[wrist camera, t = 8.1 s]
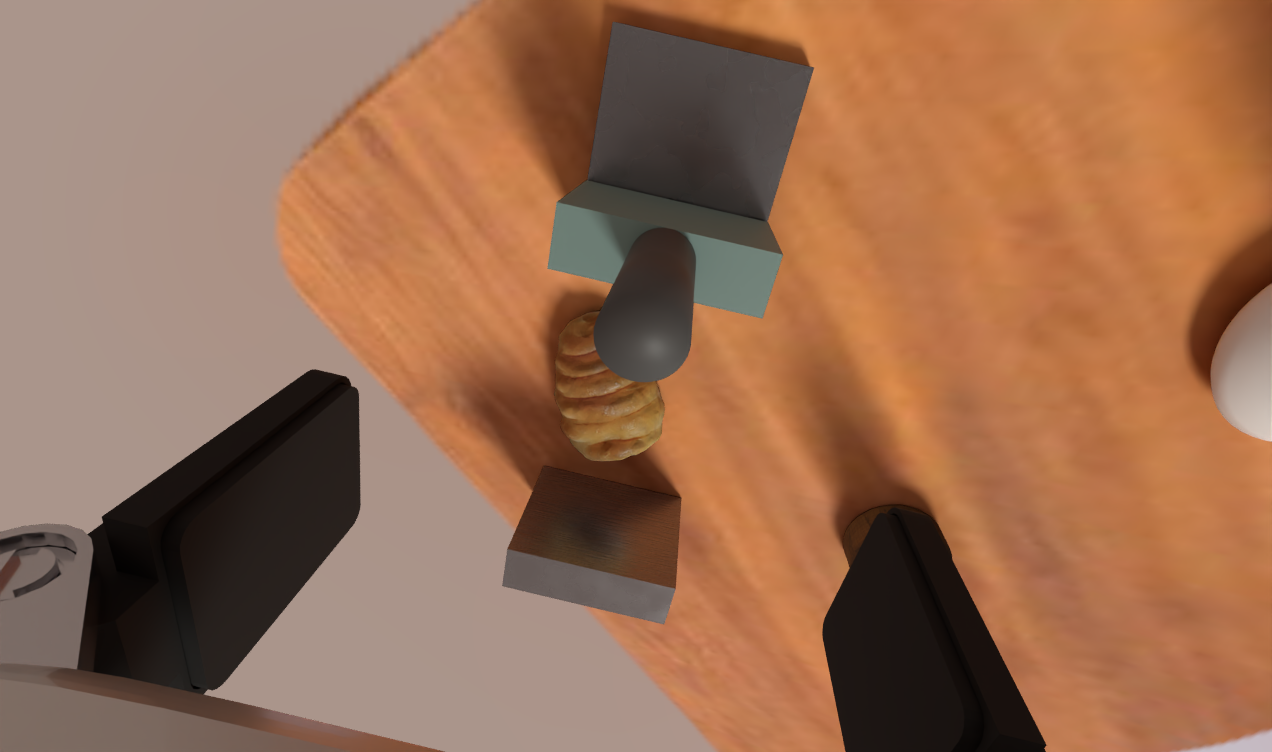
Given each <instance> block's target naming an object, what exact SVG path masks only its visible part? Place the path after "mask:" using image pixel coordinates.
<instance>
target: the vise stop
mask: <svg viewBox="0 0 1272 752" xmlns="http://www.w3.org/2000/svg"><path fill="white" fill-rule="evenodd" d="M680 511H681V498H679V497H675V496H671V495H666V494H662V493H658V492H654V491H649V490H645V489H641V488H637V487H632V486H628V485H624V484H620V483H615V482H611V481H607V480H603V479H598V478H594V477H590V476H586V475H581V474H577V473H573V472H569V471H564V470H560V469H556V468H552V467H547V466H543V469H542V471H541V473H540V476H539V478H538V480H537V482H536V485H535V487H534V489H533V492H532V494H531V496H530V499H529V501H528V503H527V505H526V508H525V510H524V512H523V515H522V517H521V519H520V521H519V524H518V526H517V528H516V531H515V533H514V535H513V538H512V540H511V542H510V544H509V547H508V549H507V556H506V563H505V571H504V578H503V585H502V586H504V587H508V588H513V589H517V590H522V591H526V592H530V593H534V594H538V595H542V596H547V597H551V598H555V599H559V600H564V601H568V602H572V603H576V604H580V605H584V606H589V607H593V608H597V609H601V610H605V611H610V612H614V613H618V614H622V615H627V616H631V617H635V618H639V619H643V620H648V621H652V622H656V623H660V624H664V623H665V620H666V617H667V614H668V611H669V608H670V605H671V601H672V598H673V595H674V592H675V589H676V574H677V559H678V543H679V527H680Z"/></svg>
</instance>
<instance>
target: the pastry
mask: <svg viewBox="0 0 1272 752" xmlns="http://www.w3.org/2000/svg"><path fill="white" fill-rule="evenodd" d="M599 313H600V311H598V312H589V313H586V314H584V315H582V316H580V317H578V318H575V319H573V320H571V321H570V322H569V323H568V324H567V326H566V327H565V329H564V330H563V331H562V332H561V333H560V335H559V344H558V354H557V356H556V359H555V368H556V376H555V384H556V388H555V392H554V396H555V400H556V403H557V405H558V407H559V408H560V411H561V413H562V420H561V423H560V427H561V429H562V431H563V433H564V434H565V435H566V436H567V437H568V438H570V442H571V444H572V445H573V446H574V447H575V448H576V449H577V450H578V451H579V452H580V453H582V454H583V455H584V457H585V458H587V459H589V460H592V461H613V460H622V459H625V458H627V457H629V456H631V455H637V454H639V453H641V452H643V451H645V450H646V449H648V448H649V447H650V446H651V445H652V444H653V443H655V442H656V441H658V440H659V438H660V436H661V434H662V420H663V417H664V411H665V407H664V402H663V400H662V397H661V394H660V391H659V388H658V386H657V383H656V381H653V382H635V381H631V380H627V379H625V378H622V377H620V376H618V375H617V374H615V373H614V372H612V371H611V370H610V369H609V368H608V367H607V366H606V365H605V364H604V363H603V362H602V360H601V359H600V357H599V355H598V353H597V351H596V348H595V344H594V334H593V333H594V326H595V322H596V319H597V317H598V315H599Z"/></svg>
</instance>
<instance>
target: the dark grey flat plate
mask: <svg viewBox="0 0 1272 752" xmlns="http://www.w3.org/2000/svg"><path fill="white" fill-rule="evenodd" d="M813 69H814V68H813V67H809V66H805V65H800V64H796V63H792V62H787V61H783V60H778V59H774V58H770V57H765V56H761V55H757V54H752V53H748V52H744V51H739V50H735V49H731V48H726V47H722V46H717V45H713V44H709V43H704V42H700V41H696V40H691V39H687V38H683V37H678V36H674V35H669V34H665V33H661V32H656V31H652V30H648V29H643V28H639V27H635V26H630V25H626V24H622V23H617V22H613V24H612V30H611V36H610V43H609V49H608V55H607V61H606V67H605V74H604V80H603V86H602V92H601V99H600V105H599V111H598V117H597V123H596V130H595V136H594V142H593V148H592V155H591V161H590V167H589V173H588V181H592V182H597V183H601V184H605V185H610V186H614V187H618V188H623V189H627V190H631V191H636V192H640V193H644V194H649V195H653V196H657V197H662V198H666V199H670V200H674V201H679V202H683V203H687V204H692V205H696V206H700V207H705V208H709V209H713V210H718V211H722V212H726V213H731V214H735V215H739V216H744V217H748V218H752V219H757V220H761V221H765V222H767V221H768V218H769V214H770V211H771V208H772V205H773V201H774V198H775V195H776V191H777V188H778V185H779V181H780V178H781V175H782V172H783V168H784V165H785V162H786V158H787V155H788V152H789V148H790V145H791V142H792V139H793V135H794V132H795V129H796V125H797V122H798V119H799V115H800V112H801V109H802V106H803V102H804V99H805V96H806V92H807V89H808V86H809V83H810V79H811V76H812V73H813Z"/></svg>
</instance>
